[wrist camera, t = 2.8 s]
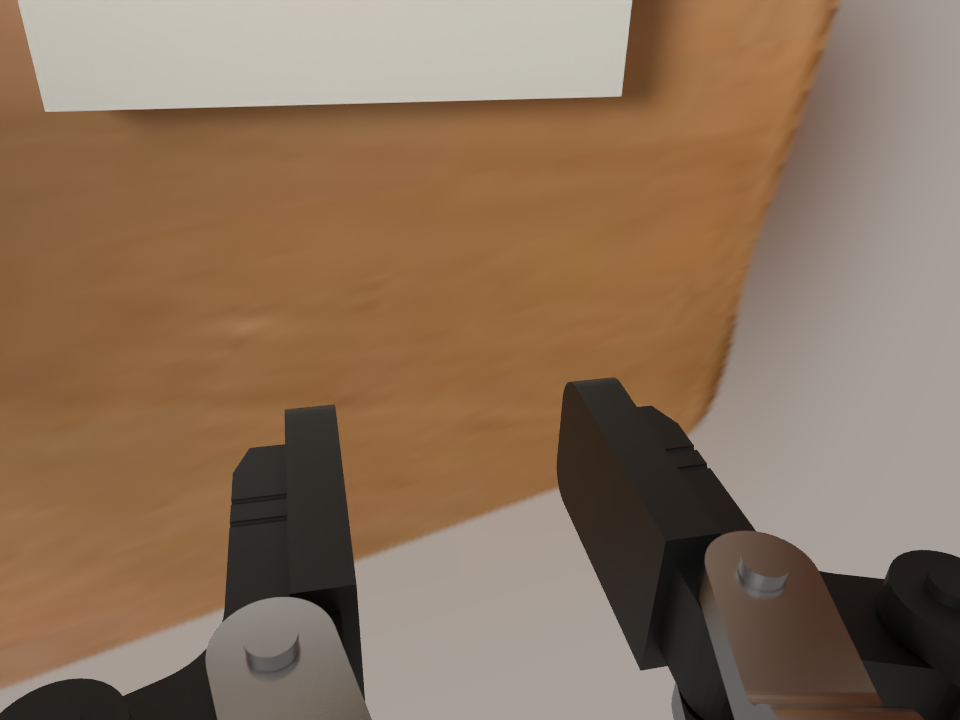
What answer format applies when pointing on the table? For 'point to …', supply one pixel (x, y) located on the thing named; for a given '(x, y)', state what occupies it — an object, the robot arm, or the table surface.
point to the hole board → (321, 51)
